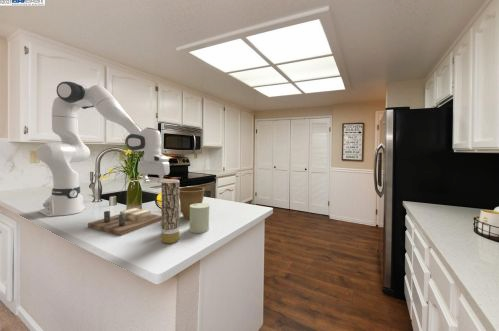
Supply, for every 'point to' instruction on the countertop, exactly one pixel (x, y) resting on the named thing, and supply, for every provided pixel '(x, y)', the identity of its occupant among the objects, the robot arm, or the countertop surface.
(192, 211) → the can
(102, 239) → the countertop surface
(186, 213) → the plant pot
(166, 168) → the robot arm
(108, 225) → the board
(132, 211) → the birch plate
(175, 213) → the grey patterned cylinder
